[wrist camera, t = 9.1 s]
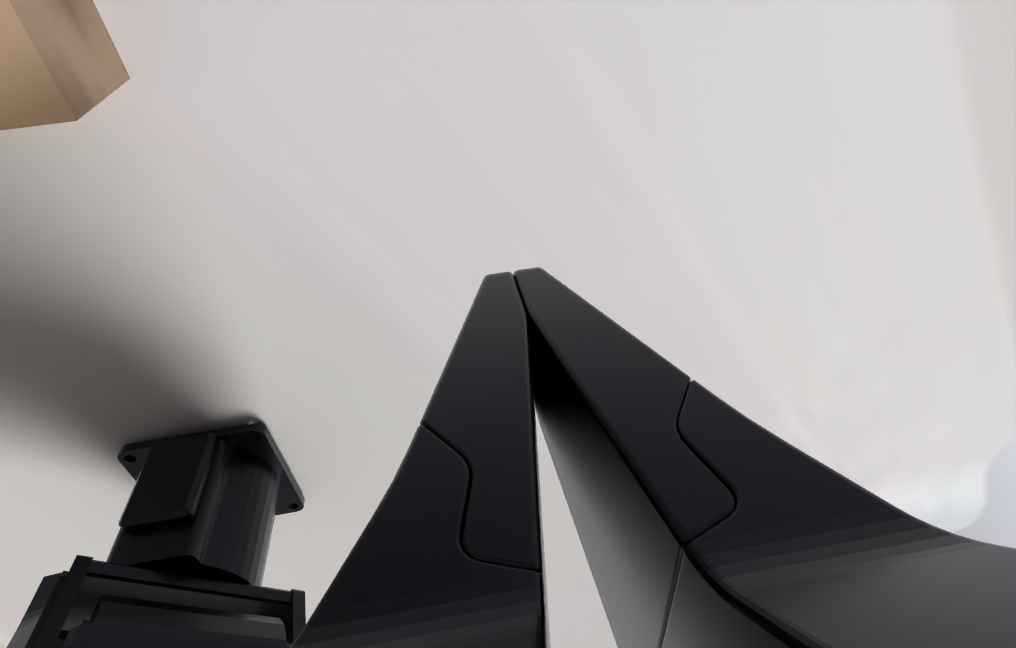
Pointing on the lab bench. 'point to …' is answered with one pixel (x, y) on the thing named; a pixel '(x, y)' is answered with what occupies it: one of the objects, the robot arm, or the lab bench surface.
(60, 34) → the door panel
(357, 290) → the lab bench surface
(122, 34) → the lab bench surface
